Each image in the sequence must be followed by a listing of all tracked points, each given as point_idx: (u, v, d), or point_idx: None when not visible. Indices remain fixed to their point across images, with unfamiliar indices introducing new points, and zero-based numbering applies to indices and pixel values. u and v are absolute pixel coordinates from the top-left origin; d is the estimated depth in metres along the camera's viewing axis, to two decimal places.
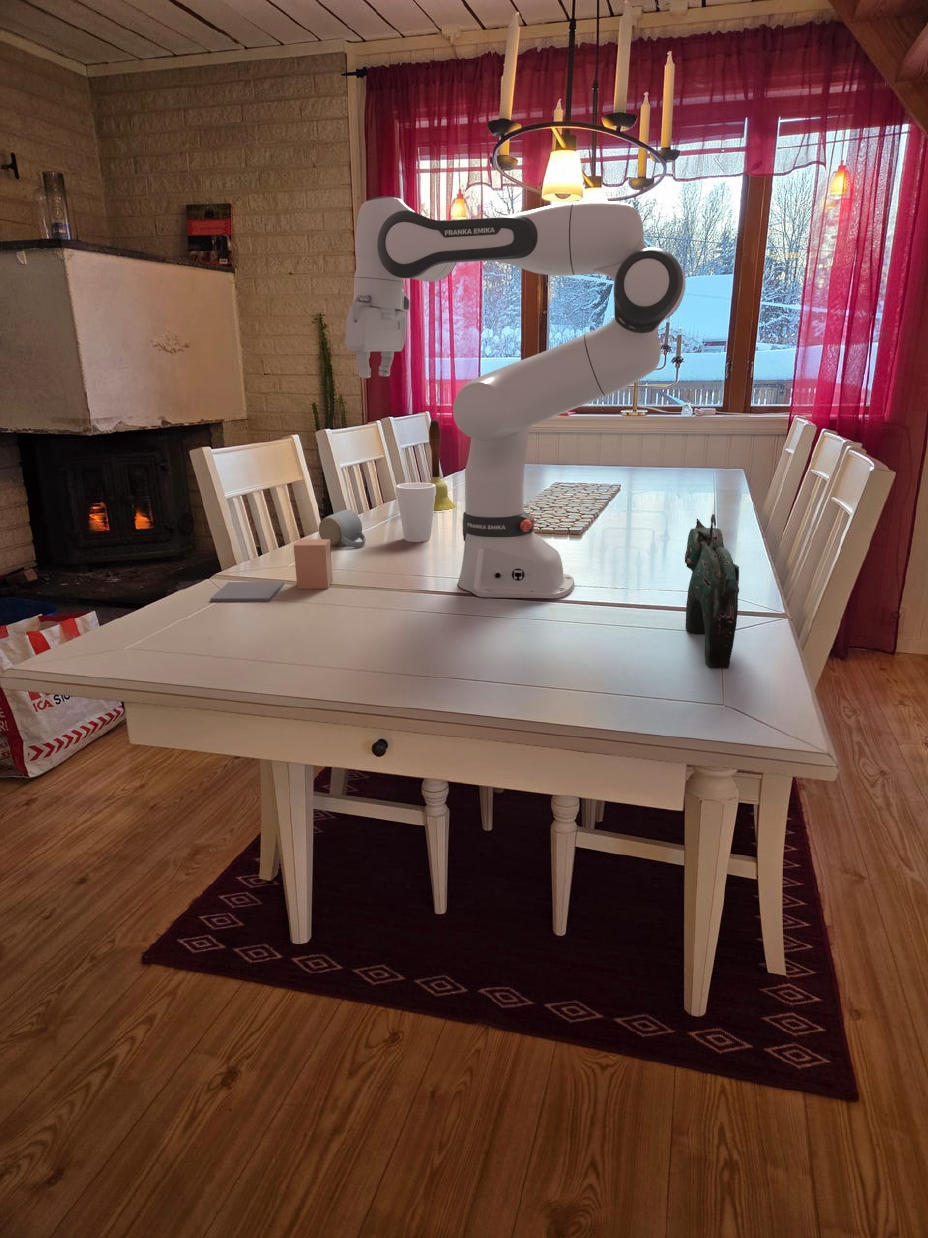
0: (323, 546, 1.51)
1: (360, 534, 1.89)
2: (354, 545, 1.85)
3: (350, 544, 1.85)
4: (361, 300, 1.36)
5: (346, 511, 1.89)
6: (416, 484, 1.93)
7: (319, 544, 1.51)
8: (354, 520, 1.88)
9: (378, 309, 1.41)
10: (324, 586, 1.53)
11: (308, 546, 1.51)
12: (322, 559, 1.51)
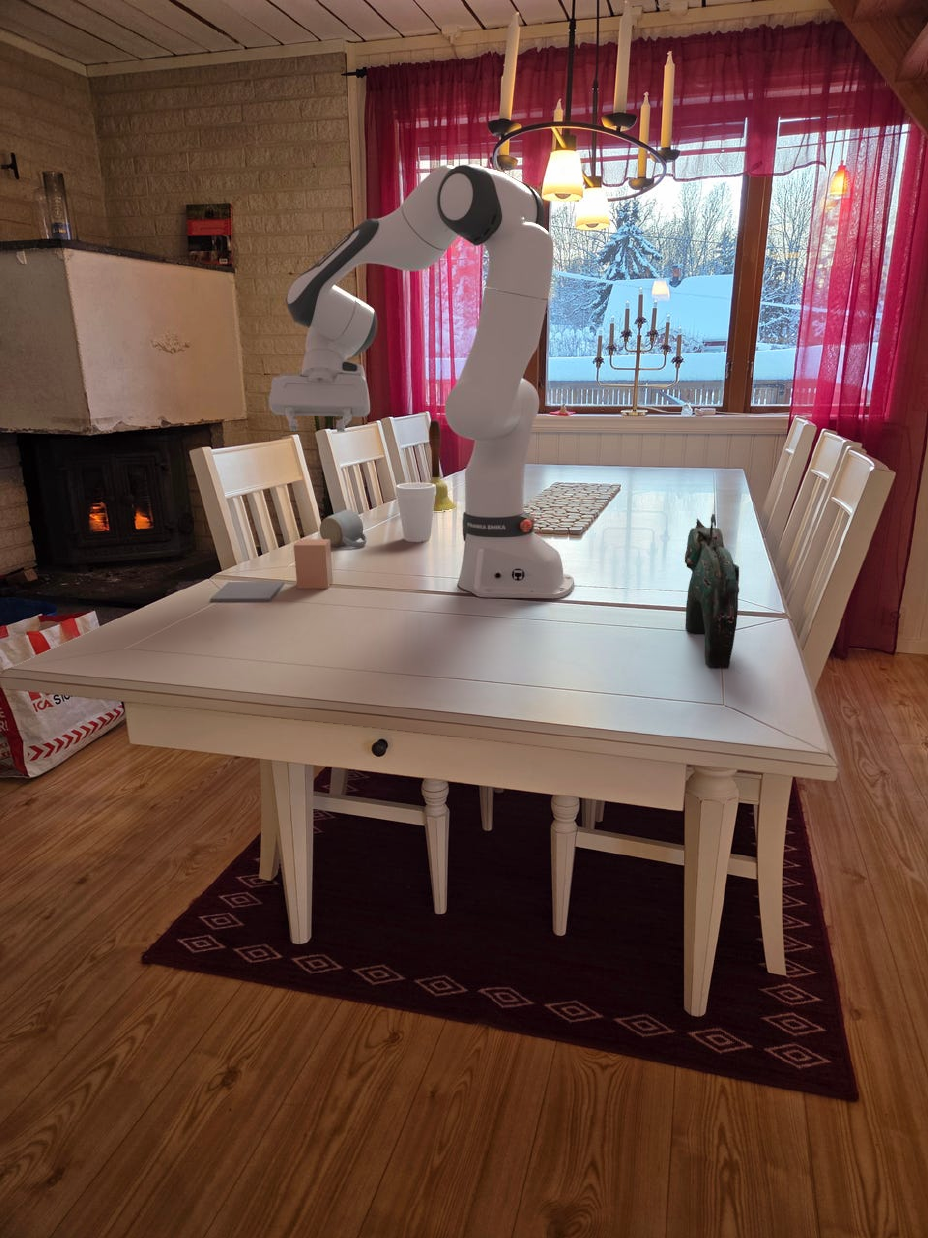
0: (323, 546, 1.51)
1: (361, 534, 1.89)
2: (355, 545, 1.85)
3: (351, 545, 1.84)
4: (281, 376, 1.63)
5: (347, 511, 1.88)
6: (416, 484, 1.93)
7: (319, 544, 1.51)
8: (355, 520, 1.87)
9: (302, 377, 1.61)
10: (324, 586, 1.53)
11: (308, 546, 1.51)
12: (322, 559, 1.51)
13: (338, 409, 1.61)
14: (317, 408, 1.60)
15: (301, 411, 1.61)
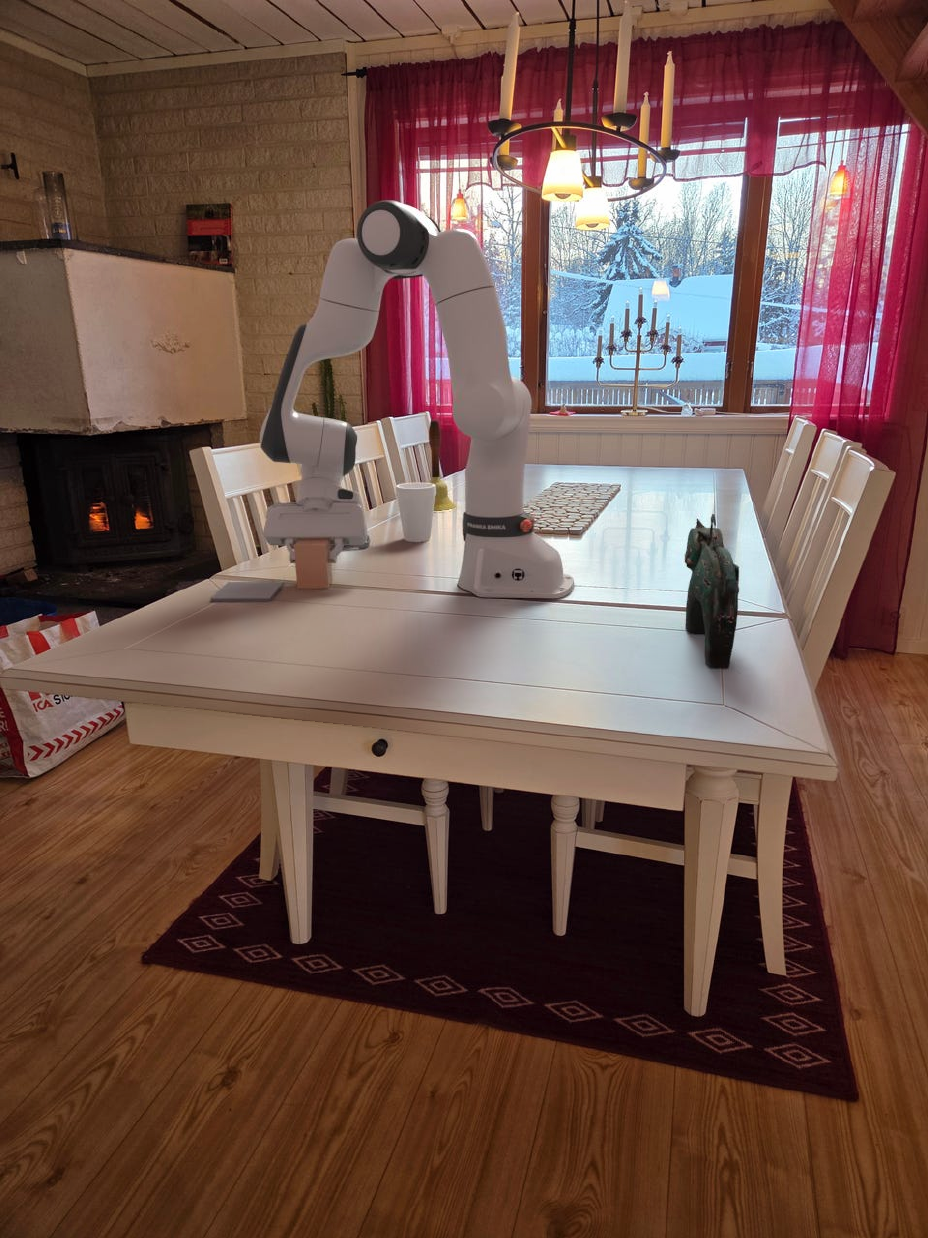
0: (323, 546, 1.51)
1: None
2: (359, 546, 1.84)
3: (355, 545, 1.84)
4: (276, 505, 1.59)
5: None
6: (416, 484, 1.93)
7: (319, 544, 1.51)
8: None
9: (298, 506, 1.57)
10: (324, 586, 1.53)
11: (308, 546, 1.51)
12: (322, 559, 1.51)
13: (335, 538, 1.56)
14: (313, 538, 1.56)
15: None
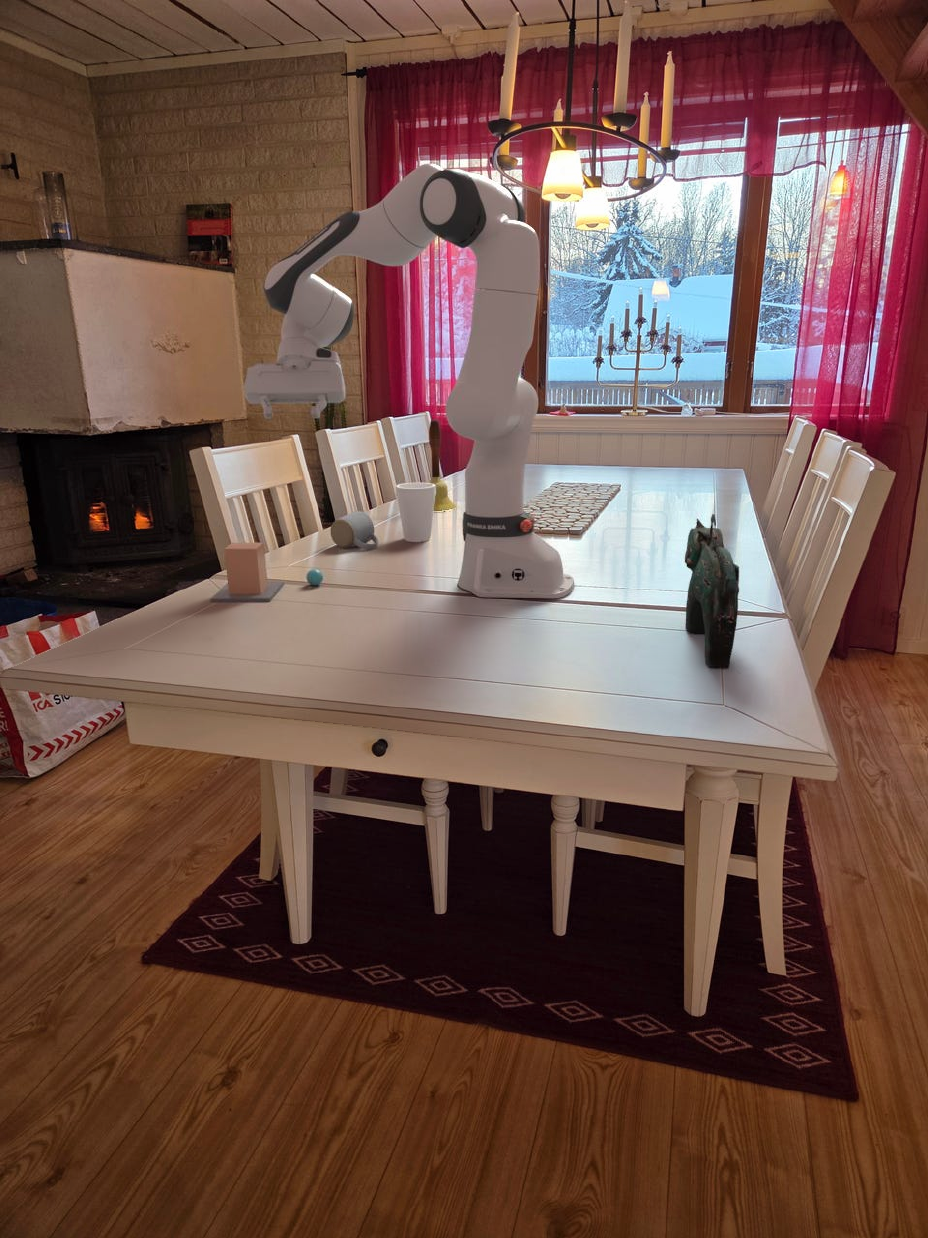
0: (254, 550, 1.46)
1: (372, 536, 1.87)
2: (367, 547, 1.83)
3: (363, 546, 1.82)
4: (257, 366, 1.63)
5: (358, 513, 1.86)
6: (416, 484, 1.93)
7: (251, 548, 1.47)
8: (367, 521, 1.85)
9: (277, 365, 1.61)
10: (257, 591, 1.48)
11: (239, 550, 1.46)
12: (254, 563, 1.47)
13: (313, 396, 1.60)
14: (292, 395, 1.60)
15: (276, 399, 1.61)
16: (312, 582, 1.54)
